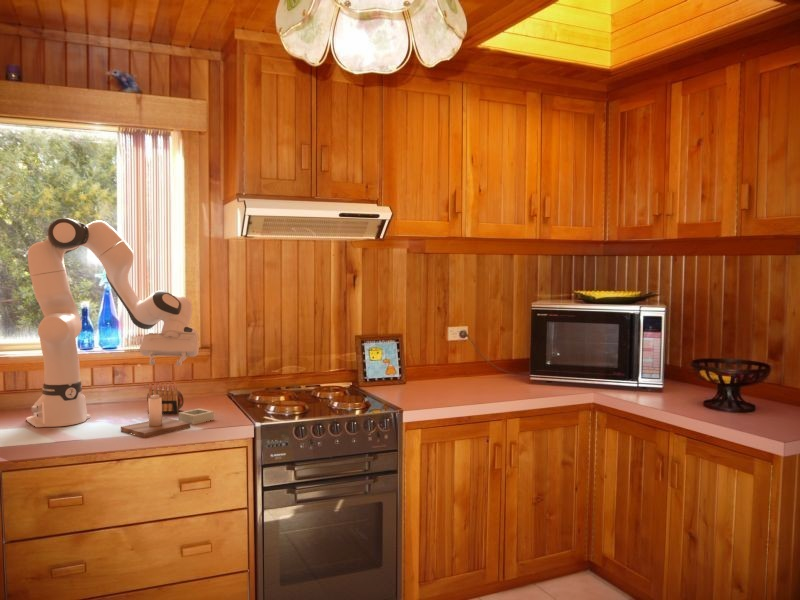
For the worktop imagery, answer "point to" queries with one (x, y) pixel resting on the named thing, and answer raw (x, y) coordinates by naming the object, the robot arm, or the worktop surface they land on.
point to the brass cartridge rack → (179, 397)
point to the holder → (196, 416)
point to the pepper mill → (155, 410)
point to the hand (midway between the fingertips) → (165, 364)
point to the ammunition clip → (166, 397)
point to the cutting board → (155, 427)
